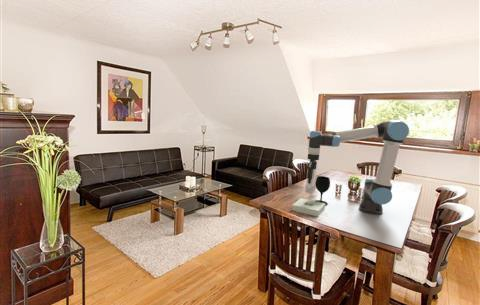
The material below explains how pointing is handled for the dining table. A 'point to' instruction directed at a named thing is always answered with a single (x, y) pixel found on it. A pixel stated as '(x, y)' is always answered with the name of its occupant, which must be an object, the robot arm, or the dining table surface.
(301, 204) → the socket plate
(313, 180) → the plug
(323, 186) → the wine glass
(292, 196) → the dining table surface
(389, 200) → the robot arm
